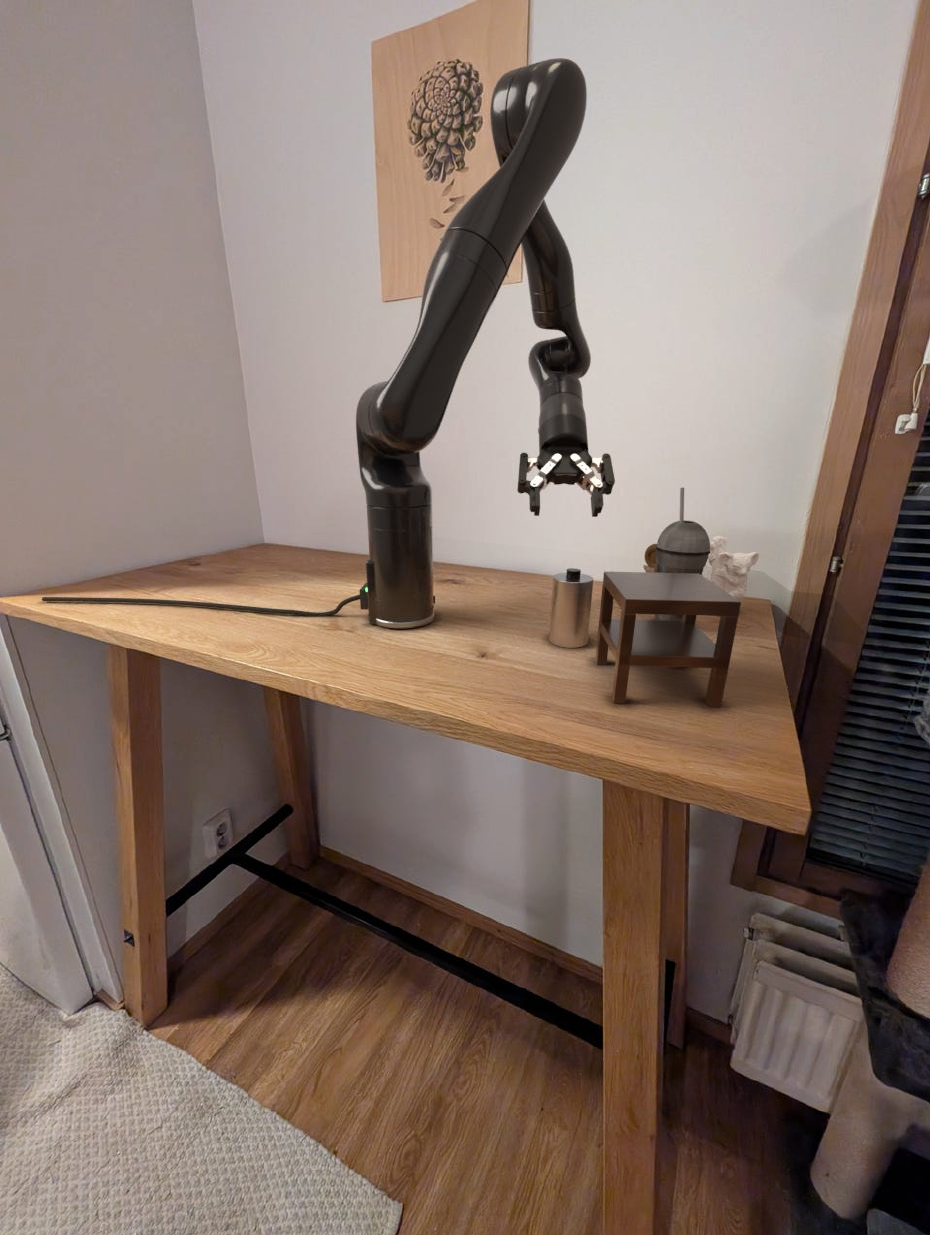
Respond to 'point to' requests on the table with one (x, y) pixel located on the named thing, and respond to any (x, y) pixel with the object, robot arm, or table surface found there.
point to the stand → (665, 627)
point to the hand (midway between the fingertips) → (566, 513)
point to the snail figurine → (650, 559)
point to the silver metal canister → (570, 609)
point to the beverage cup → (681, 550)
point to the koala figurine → (730, 567)
